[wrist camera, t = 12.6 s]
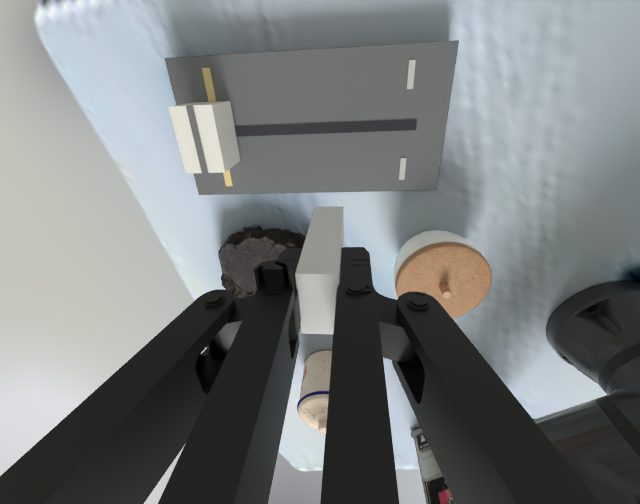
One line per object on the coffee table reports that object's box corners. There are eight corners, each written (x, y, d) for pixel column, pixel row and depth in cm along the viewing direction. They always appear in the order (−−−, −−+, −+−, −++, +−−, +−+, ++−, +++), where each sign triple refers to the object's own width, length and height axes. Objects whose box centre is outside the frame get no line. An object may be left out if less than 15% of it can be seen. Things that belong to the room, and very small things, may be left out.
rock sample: (202, 249, 45) (187, 267, 40) (288, 196, 39) (281, 210, 35) (273, 326, 51) (267, 349, 47) (354, 289, 46) (355, 311, 42)
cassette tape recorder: (469, 403, 57) (545, 601, 36) (486, 418, 59) (568, 615, 38) (409, 429, 63) (443, 614, 41) (427, 442, 65) (468, 626, 43)
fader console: (449, 43, 30) (459, 40, 27) (429, 182, 37) (436, 190, 34) (179, 59, 32) (164, 58, 30) (208, 187, 39) (198, 195, 37)
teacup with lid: (295, 354, 54) (284, 417, 44) (344, 343, 52) (344, 407, 42) (319, 395, 59) (314, 460, 49) (364, 387, 57) (368, 453, 47)
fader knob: (230, 100, 31) (210, 104, 27) (240, 160, 34) (224, 172, 29) (192, 102, 31) (167, 106, 27) (206, 161, 34) (185, 173, 30)
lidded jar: (400, 292, 46) (412, 339, 37) (377, 233, 41) (385, 271, 33) (475, 271, 43) (505, 316, 35) (459, 205, 38) (490, 239, 30)
